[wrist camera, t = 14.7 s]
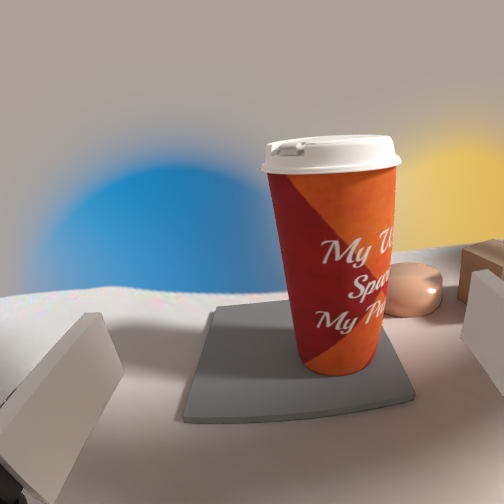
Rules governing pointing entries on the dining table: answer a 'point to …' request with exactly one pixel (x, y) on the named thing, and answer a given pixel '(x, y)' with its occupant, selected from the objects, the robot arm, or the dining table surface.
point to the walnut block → (480, 263)
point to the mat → (281, 373)
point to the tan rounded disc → (412, 290)
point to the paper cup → (335, 242)
